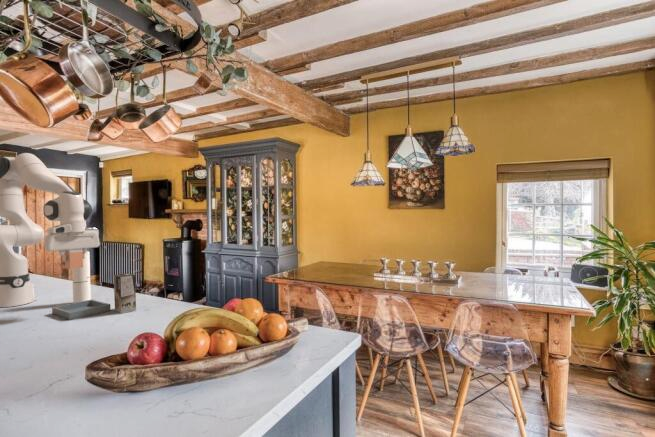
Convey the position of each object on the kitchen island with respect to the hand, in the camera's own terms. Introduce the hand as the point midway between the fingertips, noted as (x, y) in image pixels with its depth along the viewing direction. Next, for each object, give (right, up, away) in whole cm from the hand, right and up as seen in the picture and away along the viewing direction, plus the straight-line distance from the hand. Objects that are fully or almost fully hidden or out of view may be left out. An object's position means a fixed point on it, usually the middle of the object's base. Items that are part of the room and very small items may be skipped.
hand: (73, 259), depth 157 cm
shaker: (0, -4, 0) cm, 4 cm away
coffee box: (+20, -24, +5) cm, 31 cm away
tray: (+2, -24, +2) cm, 24 cm away
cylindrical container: (-9, -24, +19) cm, 32 cm away
